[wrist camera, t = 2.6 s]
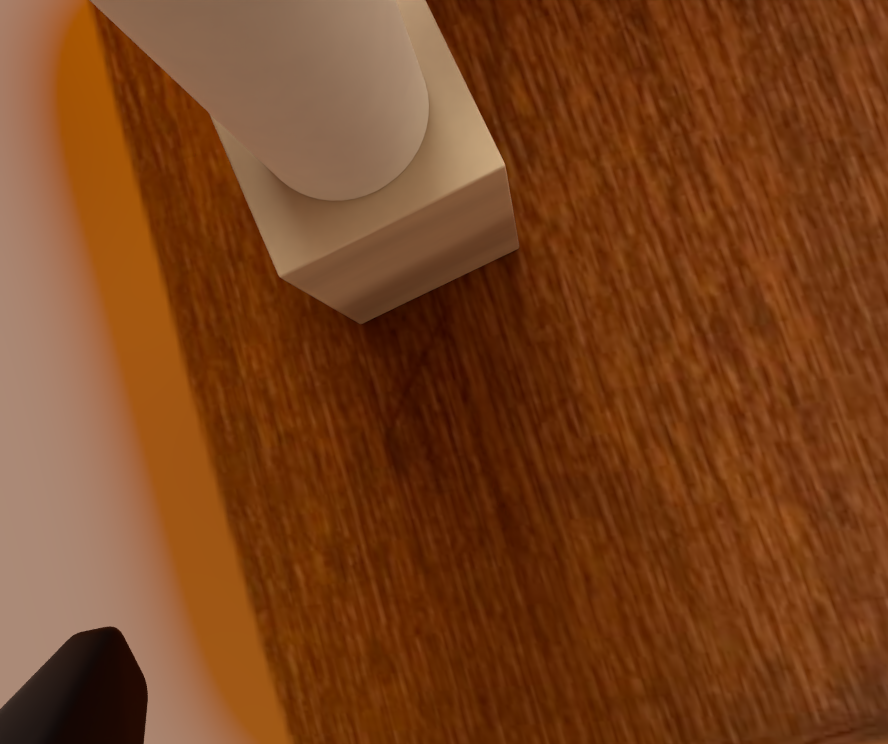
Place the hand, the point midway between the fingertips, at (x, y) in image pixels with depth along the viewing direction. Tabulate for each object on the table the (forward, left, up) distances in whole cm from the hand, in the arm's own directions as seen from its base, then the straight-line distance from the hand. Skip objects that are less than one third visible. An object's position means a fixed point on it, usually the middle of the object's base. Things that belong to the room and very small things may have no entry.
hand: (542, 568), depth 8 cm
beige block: (+8, +3, -12) cm, 15 cm away
